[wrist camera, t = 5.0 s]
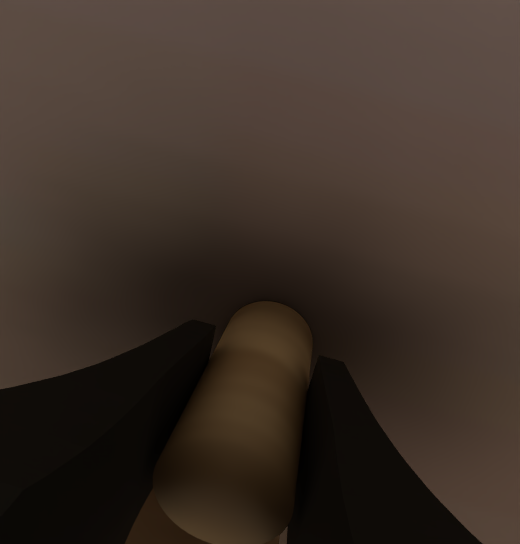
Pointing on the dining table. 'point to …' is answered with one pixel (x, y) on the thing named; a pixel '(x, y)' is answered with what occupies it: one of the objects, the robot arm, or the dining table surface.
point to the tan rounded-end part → (235, 438)
